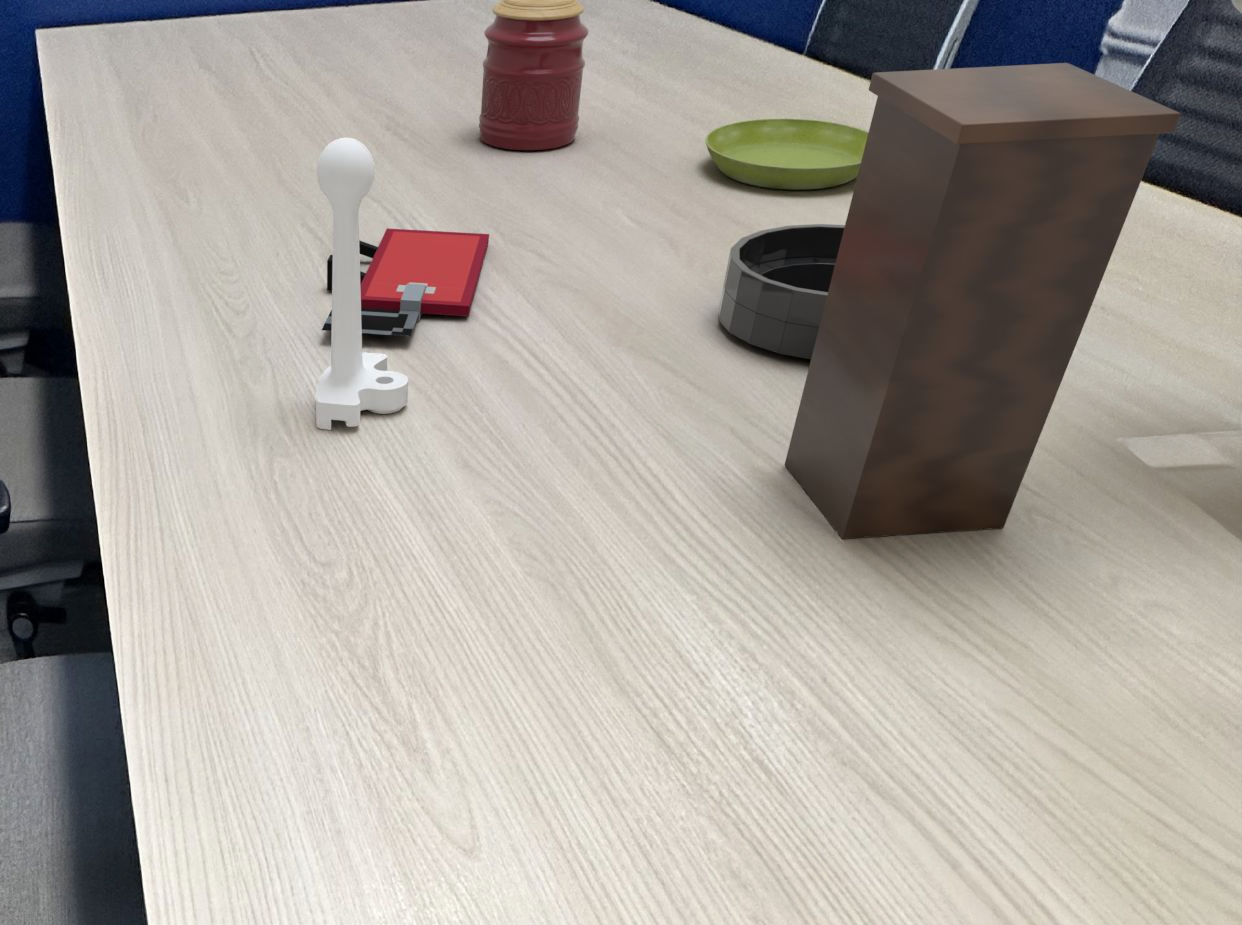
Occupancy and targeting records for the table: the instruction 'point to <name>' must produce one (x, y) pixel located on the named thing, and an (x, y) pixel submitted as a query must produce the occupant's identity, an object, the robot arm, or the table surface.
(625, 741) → the table surface
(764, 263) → the bowl
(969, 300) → the stand
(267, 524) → the table surface
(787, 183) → the saucer
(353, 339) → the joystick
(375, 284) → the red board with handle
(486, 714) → the table surface
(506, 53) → the kitchen canister
